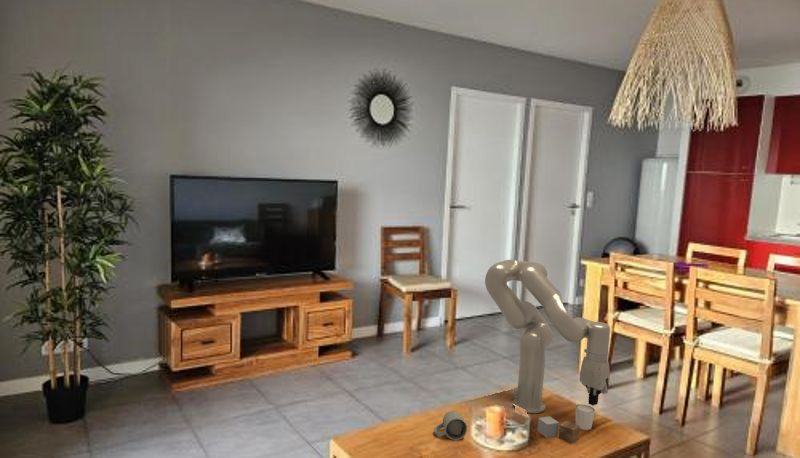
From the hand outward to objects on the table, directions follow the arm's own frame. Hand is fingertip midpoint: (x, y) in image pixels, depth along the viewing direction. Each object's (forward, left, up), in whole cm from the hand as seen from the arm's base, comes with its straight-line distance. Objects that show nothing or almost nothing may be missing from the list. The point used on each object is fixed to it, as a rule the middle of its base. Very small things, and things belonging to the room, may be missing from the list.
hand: (592, 404), depth 200 cm
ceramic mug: (-17, -53, -8) cm, 56 cm away
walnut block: (+4, -17, -8) cm, 19 cm away
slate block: (-2, -21, -8) cm, 22 cm away
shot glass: (0, -4, -8) cm, 9 cm away
